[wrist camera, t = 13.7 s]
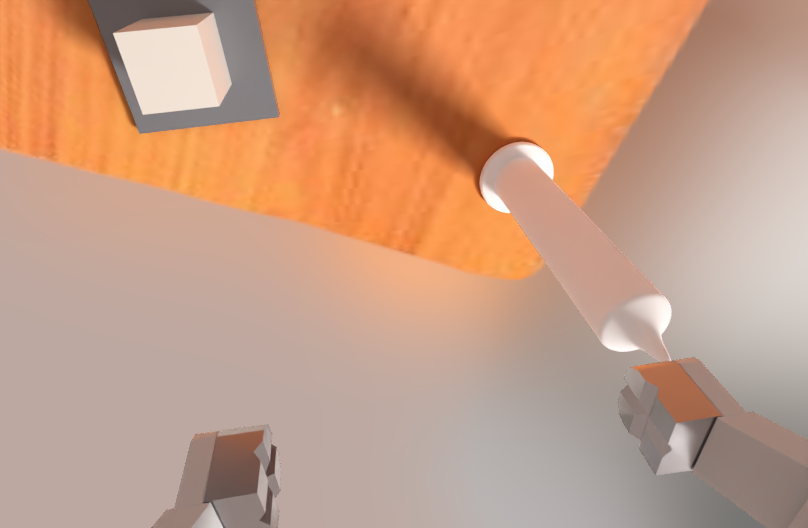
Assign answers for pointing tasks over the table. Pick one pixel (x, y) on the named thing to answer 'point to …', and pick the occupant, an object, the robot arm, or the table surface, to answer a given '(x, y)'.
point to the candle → (577, 251)
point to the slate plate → (243, 49)
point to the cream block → (175, 62)
